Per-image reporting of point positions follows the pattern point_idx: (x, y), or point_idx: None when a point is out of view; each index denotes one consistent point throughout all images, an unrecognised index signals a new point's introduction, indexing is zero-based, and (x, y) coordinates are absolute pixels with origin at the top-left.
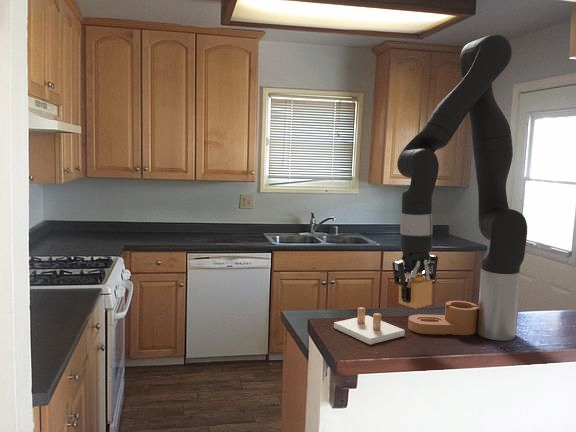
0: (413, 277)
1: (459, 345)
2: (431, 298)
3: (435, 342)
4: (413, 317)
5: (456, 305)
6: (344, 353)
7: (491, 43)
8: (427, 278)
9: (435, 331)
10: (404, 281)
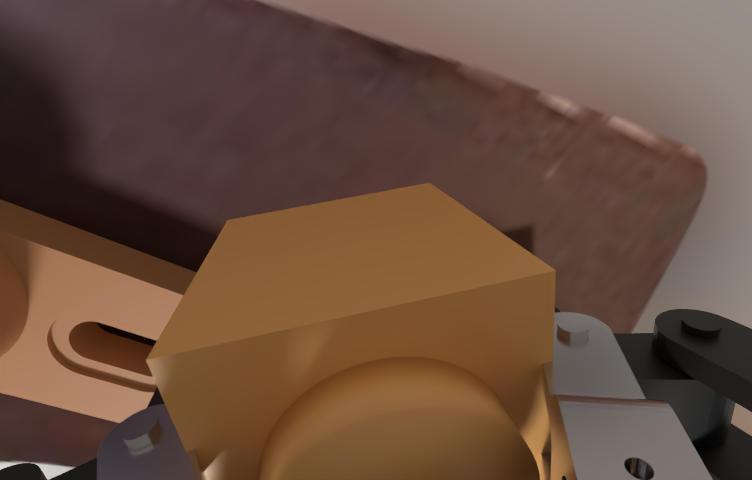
0: (603, 404)
1: (121, 80)
2: (220, 238)
3: (226, 166)
4: None
5: None
6: (656, 209)
7: None
8: (166, 465)
9: (150, 262)
10: (730, 353)
